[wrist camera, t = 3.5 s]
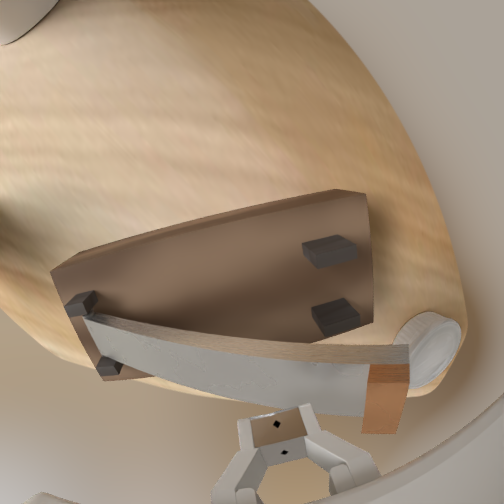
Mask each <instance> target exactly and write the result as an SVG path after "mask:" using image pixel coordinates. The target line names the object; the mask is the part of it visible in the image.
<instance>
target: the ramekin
mask: <svg viewBox="0 0 504 504" xmlns="http://www.w3.org/2000/svg"><path fill="white" fill-rule="evenodd" d="M460 340H461V328H460V326H459V324H458V323H457V322H456V321H455V320H453V319H451V318H446V317H444V316H442V315H439V314H437V313H434V312H424V313H421V314H418V315H416V316H414V317H413V318H412V319H410V320H409V321H408V322H407V323H406V324H405V325H404V326H403V327H402V328H401V330H400V331H399V332H398V334H397V336H396V337H395V339H394V342H393V344H392V345H400V344H409V363H410V384H409V388H408V389H415V388H419V387H422V386H424V385H426V384H428V383H429V382H431V381H432V380H434V379H435V378H436V377H437V376H439V375H440V374H441V373H442V372H443V371H444V369H445V368H446V367H447V366H448V365H449V363H450V362H451V360H452V359H453V357H454V355H455V353H456V351H457V349H458V347H459V344H460Z"/></svg>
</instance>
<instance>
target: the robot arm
mask: <svg viewBox="0 0 504 504" xmlns="http://www.w3.org/2000/svg"><path fill="white" fill-rule="evenodd" d="M58 1H59V0H0V45H5V44H8V43H10V42H12V41H14V40H16V39H18V38H19V37H21V36H22V35H23V34H25V33H26V32H27V31H29V30H30V29H31V28H32V27H33V26H35V25H36V24H37V23H38V22H39V21H40V20H41V19H42V18H43V17H44V16H45V15H46V14H47V13H48V12H49V11H50V10H51V9H52V8H53V6H54V5H55V4H56V3H57V2H58ZM237 424H238V433H239V441H240V448H241V451H238V452H237V453H236V454H235V456H234V457H233V459H232V460H231V462H230V463H229V465H228V467H227V468H226V470H225V471H224V473H223V474H222V476H221V477H220V479H219V480H218V481H217V483H216V485H215V486H214V487H213V489H212V490H211V504H264V503H263V502H262V500H261V499H260V497H259V496H258V494H257V493H256V491H257V489H258V487H259V485H260V483H261V481H262V479H263V477H264V474H265V472H266V470H267V467H268V466H272V465H277V464H281V463H284V462H288V461H293V460H297V459H301V458H305V457H308V458H309V459H310V460H312V461H313V462H314V463H316V464H317V465H318V466H320V467H321V468H323V469H324V470H326V471H327V472H328V473H329V492H330V495H331V496H329V497H326V498H323V499H320V500H316V501H312V502H309V503H306V504H504V393H503V394H502V395H501V396H500V397H499V398H498V399H497V400H496V401H495V402H494V403H492V404H491V405H490V406H489V407H488V408H487V409H486V410H484V411H483V412H482V413H481V414H480V415H479V416H477V417H476V418H475V419H474V420H472V421H471V422H470V423H468V424H467V425H466V426H465V427H463V428H462V429H461V430H459V431H458V432H456V433H455V434H454V435H452V436H451V437H449V438H448V439H446V440H445V441H443V442H442V443H440V444H439V445H437V446H436V447H434V448H433V449H431V450H429V451H428V452H426V453H424V454H423V455H421V456H419V457H418V458H416V459H414V460H413V461H411V462H409V463H407V464H405V465H404V466H401V467H399V468H397V469H395V470H394V471H391V472H389V473H387V474H385V475H383V476H381V474H380V473H379V471H378V469H377V467H376V465H375V463H374V461H373V459H372V457H371V455H370V453H369V452H367V451H364V450H362V449H360V448H358V447H356V446H354V445H353V444H350V443H349V442H347V441H345V440H343V439H341V438H339V437H337V436H336V435H334V434H332V433H330V432H328V431H326V430H324V431H322V430H321V428H320V425H319V423H318V420H317V418H316V415H315V413H314V411H313V408H312V406H311V404H310V403H306V404H302V405H299V406H295V407H291V408H288V409H284V410H280V411H276V412H274V413H270V414H265V415H260V416H255V417H250V418H245V419H239V420H238V422H237ZM23 504H79V503H75V502H72V501H69V500H66V499H62V498H59V497H56V496H53V495H51V494H48V493H44V492H40V493H38V494H36V495H34V496H33V497H31V498H30V499H28V500H27V501H25V502H24V503H23Z"/></svg>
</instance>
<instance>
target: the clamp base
mask: <svg viewBox="0 0 504 504" xmlns="http://www.w3.org/2000/svg"><path fill="white" fill-rule="evenodd" d="M50 273H51V276H52V279H53V281H54V284H55V286H56V289H57V291H58V294H59V296H60V299H61V301H62V303H63V306H64V308H65V310H66V313H67V315H68V317H69V319H70V321H71V323H72V325H73V327H74V329H75V331H76V333H77V335H78V337H79V339H80V341H81V343H82V345H83V346H84V348H85V350H86V352H87V354H88V356H89V357H90V359H91V361H92V363H93V364H94V366H95V368H96V370H97V371H98V373H99V375H100V376H101V377H102V379H103V381H115V380H127V379H137V378H146V377H154V375H151V374H148V373H146V372H143V371H140V370H138V369H135V368H133V367H130V366H128V365H125V364H123V363H120V362H118V361H116V360H113V359H111V358H109V357H102V355H101V353H100V352H99V350H98V348H97V346H96V344H95V342H94V340H93V338H92V336H91V334H90V332H89V330H88V328H87V326H86V324H85V322H84V320H83V318H82V315H86V314H88V313H89V312H90V310H91V309H93V310H94V312H97V313H101V314H105V315H110V316H114V317H118V318H123V319H128V320H132V321H137V322H142V323H147V324H152V325H158V326H163V327H169V328H174V329H180V330H187V331H193V332H200V333H207V334H214V335H221V336H229V337H238V338H247V339H257V340H267V341H279V342H293V343H313V342H317V341H320V340H323V339H326V338H329V337H332V336H336V335H339V334H342V333H345V332H347V331H350V330H353V329H356V328H359V327H362V326H364V325H367V324H370V323H373V267H372V249H371V236H370V225H369V215H368V206H367V198H366V194H364V193H358V192H352V191H346V190H339V189H333V190H328V191H322V192H317V193H312V194H307V195H302V196H297V197H292V198H287V199H282V200H278V201H273V202H268V203H264V204H259V205H255V206H250V207H246V208H242V209H237V210H233V211H229V212H224V213H220V214H216V215H212V216H208V217H204V218H200V219H196V220H192V221H188V222H184V223H180V224H176V225H172V226H169V227H165V228H161V229H157V230H154V231H150V232H147V233H143V234H139V235H136V236H132V237H129V238H125V239H122V240H118V241H115V242H112V243H108V244H105V245H102V246H98V247H95V248H92V249H88V250H85V251H82V252H79V253H77V254H76V255H74V256H73V257H71V258H70V259H68V260H67V261H65V262H63V263H62V264H60V265H59V266H57V267H56V268H55V269H53V270H52V271H50Z"/></svg>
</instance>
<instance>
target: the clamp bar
mask: <svg viewBox="0 0 504 504" xmlns="http://www.w3.org/2000/svg"><path fill="white" fill-rule="evenodd" d="M82 318H83V320H84V322H85V324H86V326H87V328H88V330H89V332H90V334H91V336H92V338H93V340H94V342H95V344H96V346H97V348H98V350H99V352H100V353H101V355H102V357H109V358H111V359H113V360H116V361H118V362H120V363H123V364H125V365H128V366H130V367H133V368H135V369H138V370H140V371H143V372H146V373H148V374H151V375H154V376H157V377H160V378H162V379H165V380H168V381H171V382H174V383H177V384H181V385H184V386H187V387H190V388H194V389H197V390H201V391H204V392H208V393H211V394H215V395H219V396H223V397H227V398H231V399H236V400H240V401H245V402H249V403H254V404H259V405H264V406H270V407H276V408H282V409H288V408H291V407H295V406H299V405H302V404H306V403H310V404H311V406H312V408H313V411H314V413H320V414H330V415H342V416H359V417H364V418H363V425H362V432H361V433H365V434H396V431H397V428H398V425H399V421H400V418H401V414H402V411H403V407H404V404H405V400H406V396H407V392H408V388H409V384H410V363H409V344H400V345H334V344H310V343H293V342H279V341H267V340H257V339H247V338H238V337H229V336H221V335H214V334H207V333H200V332H193V331H187V330H180V329H174V328H169V327H163V326H158V325H152V324H147V323H142V322H137V321H132V320H128V319H123V318H118V317H114V316H110V315H105V314H101V313H97V312H94V310H93V309H91V310H90V312H89V313H88V314H86V315H82Z"/></svg>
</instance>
